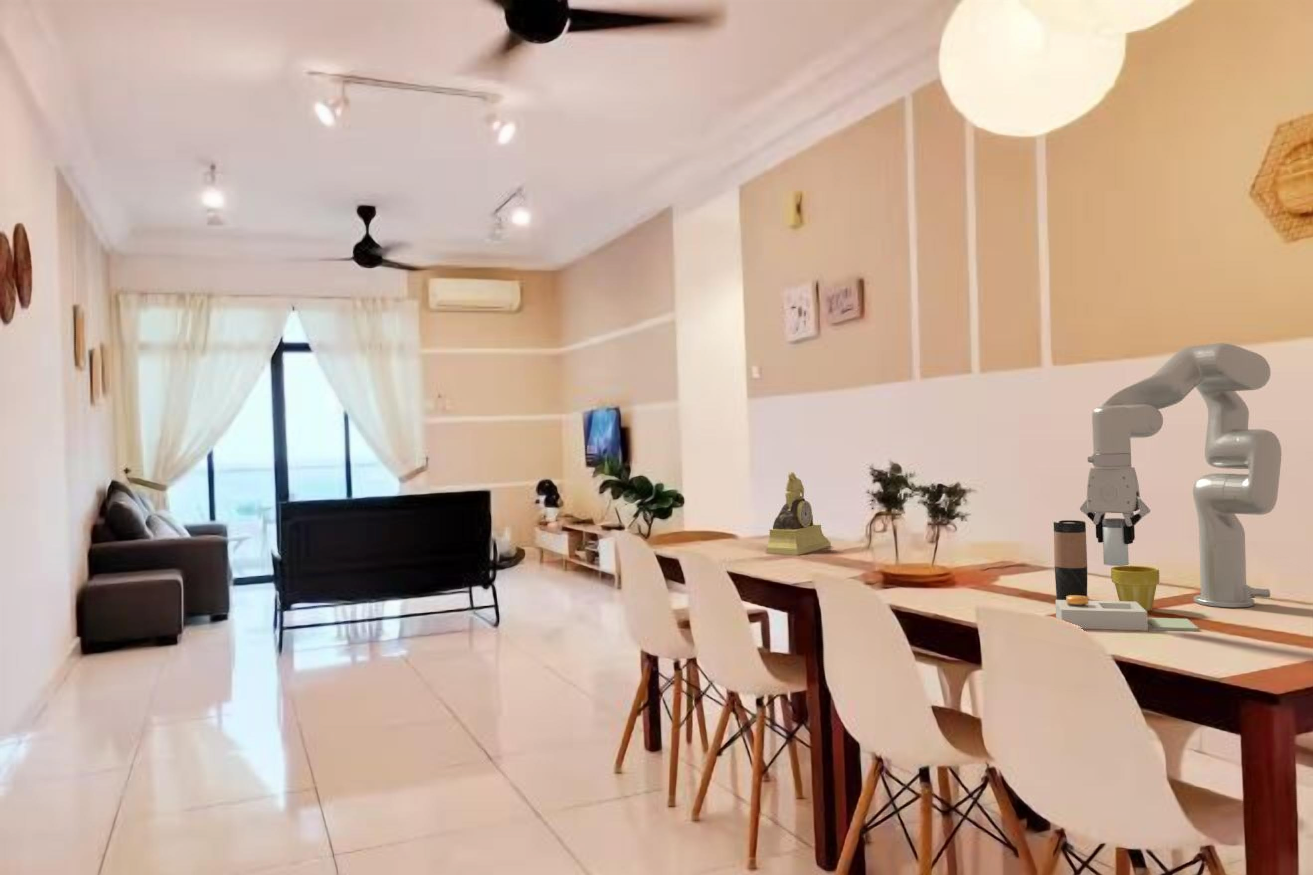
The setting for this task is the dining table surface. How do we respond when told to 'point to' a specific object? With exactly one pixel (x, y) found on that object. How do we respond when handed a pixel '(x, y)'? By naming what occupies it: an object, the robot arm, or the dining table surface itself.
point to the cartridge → (1114, 542)
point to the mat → (1173, 624)
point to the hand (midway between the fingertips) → (1115, 541)
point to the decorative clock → (795, 525)
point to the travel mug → (1070, 558)
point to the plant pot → (1136, 584)
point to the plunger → (1077, 600)
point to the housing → (1104, 615)
